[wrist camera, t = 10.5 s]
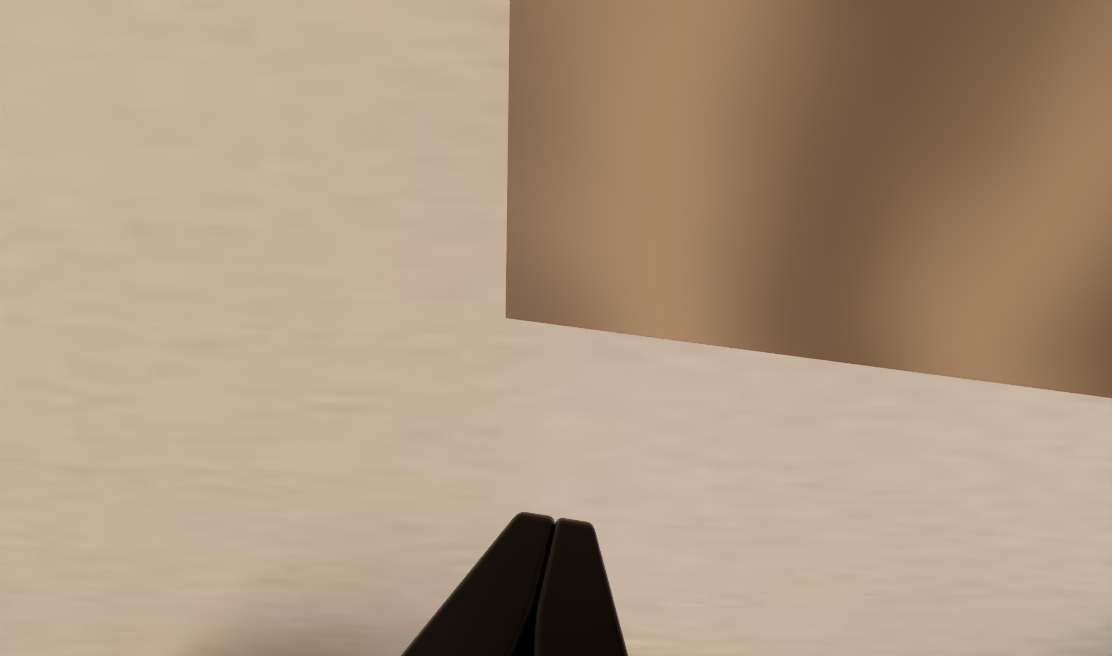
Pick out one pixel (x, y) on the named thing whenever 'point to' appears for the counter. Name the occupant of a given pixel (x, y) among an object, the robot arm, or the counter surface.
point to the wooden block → (821, 179)
